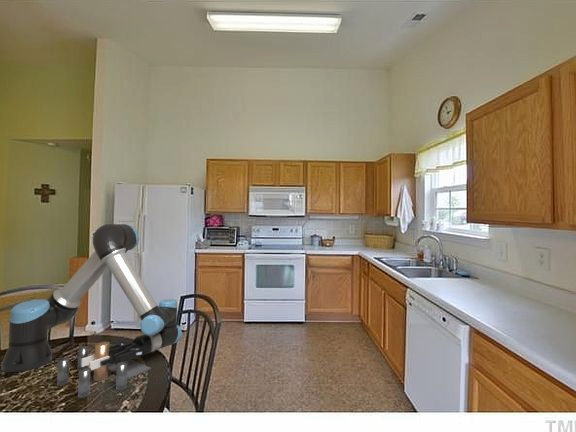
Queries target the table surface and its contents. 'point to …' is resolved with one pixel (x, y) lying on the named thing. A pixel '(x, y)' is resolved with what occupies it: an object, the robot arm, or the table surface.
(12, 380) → the table surface
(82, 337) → the table surface
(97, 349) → the cylinder
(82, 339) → the table surface
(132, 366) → the rubber mat
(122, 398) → the table surface
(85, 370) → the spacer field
